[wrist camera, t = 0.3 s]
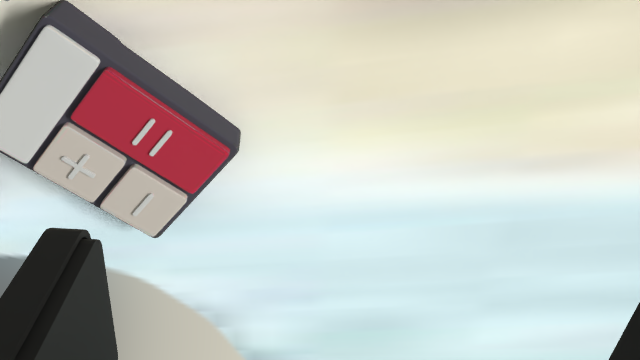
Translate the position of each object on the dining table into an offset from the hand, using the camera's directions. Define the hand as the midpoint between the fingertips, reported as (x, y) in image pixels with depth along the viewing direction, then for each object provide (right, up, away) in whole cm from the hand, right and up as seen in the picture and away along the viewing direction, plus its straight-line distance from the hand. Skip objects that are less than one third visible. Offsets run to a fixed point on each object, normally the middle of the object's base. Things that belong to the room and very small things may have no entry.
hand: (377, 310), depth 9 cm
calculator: (-16, +7, +32) cm, 36 cm away
